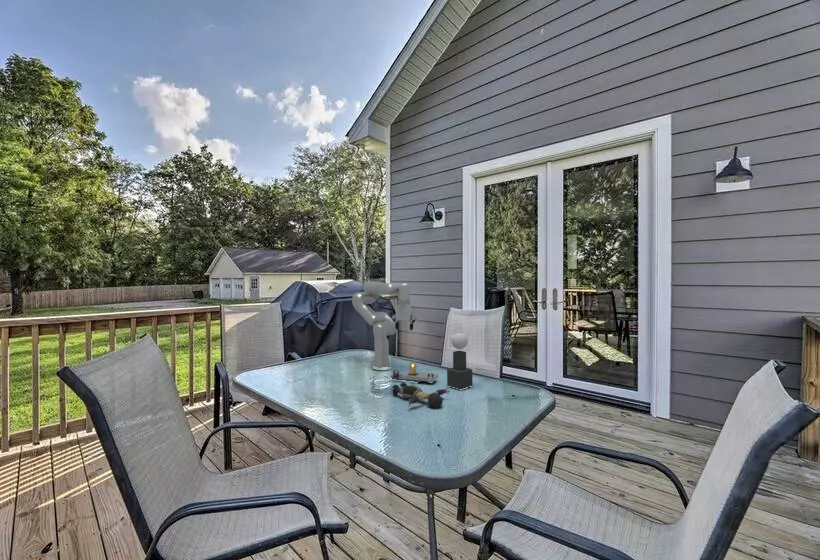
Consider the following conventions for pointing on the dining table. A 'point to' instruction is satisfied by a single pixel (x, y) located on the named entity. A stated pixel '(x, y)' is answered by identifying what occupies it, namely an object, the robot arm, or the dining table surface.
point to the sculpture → (459, 365)
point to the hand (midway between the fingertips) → (404, 329)
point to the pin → (412, 369)
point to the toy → (419, 394)
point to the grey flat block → (417, 378)
